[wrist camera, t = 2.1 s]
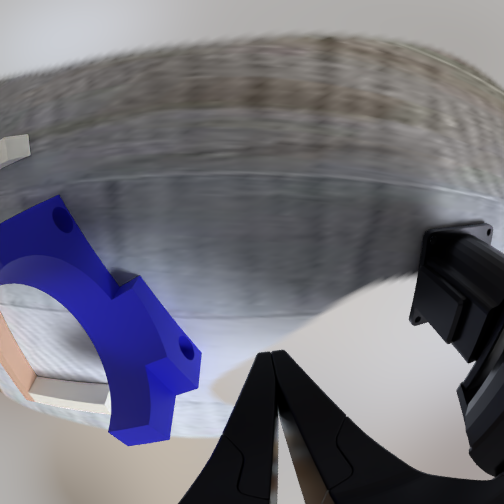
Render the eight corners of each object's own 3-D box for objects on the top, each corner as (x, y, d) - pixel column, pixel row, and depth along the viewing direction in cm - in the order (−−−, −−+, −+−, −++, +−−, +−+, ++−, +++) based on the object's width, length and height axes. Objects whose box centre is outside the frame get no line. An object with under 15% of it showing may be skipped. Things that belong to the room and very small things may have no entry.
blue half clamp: (201, 351, 16) (194, 434, 11) (146, 372, 17) (128, 445, 11) (78, 177, 12) (0, 209, 6) (30, 222, 12) (-38, 267, 7)
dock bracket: (28, 134, 10) (5, 136, 9) (117, 394, 18) (111, 414, 16) (-48, 178, 10) (-67, 185, 8) (35, 384, 17) (26, 399, 16)
